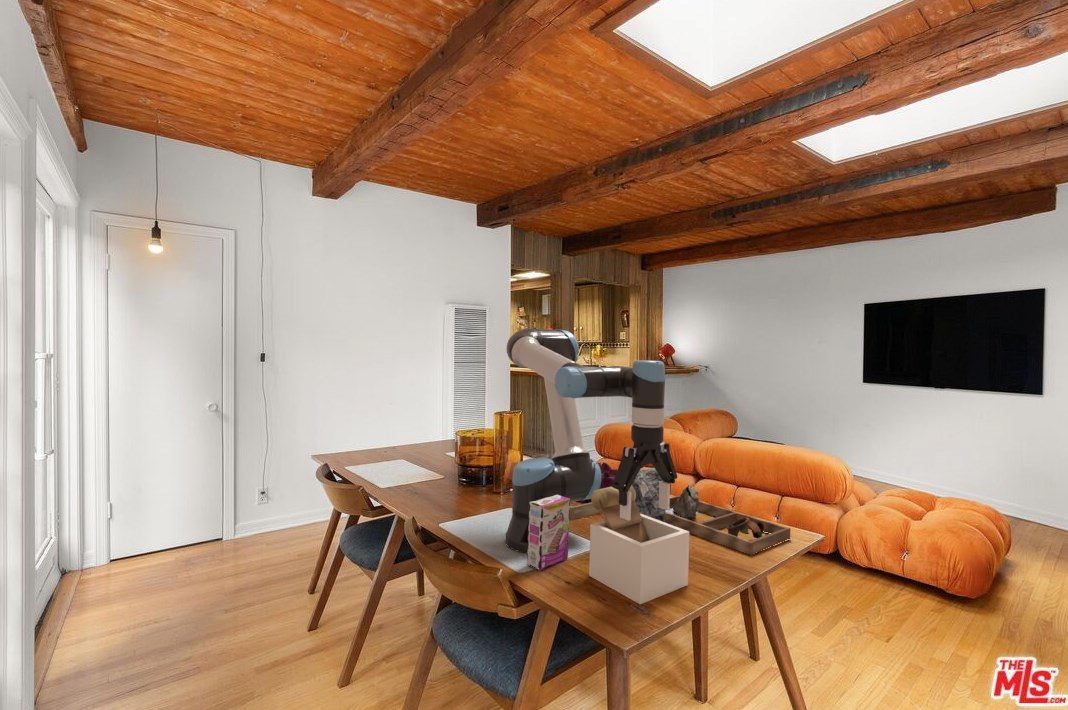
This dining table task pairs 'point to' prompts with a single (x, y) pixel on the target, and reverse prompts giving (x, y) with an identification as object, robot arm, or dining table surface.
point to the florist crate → (583, 511)
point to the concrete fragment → (687, 503)
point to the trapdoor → (611, 508)
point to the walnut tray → (724, 519)
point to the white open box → (640, 559)
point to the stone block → (648, 493)
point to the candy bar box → (548, 531)
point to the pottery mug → (746, 527)
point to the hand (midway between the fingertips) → (645, 513)
